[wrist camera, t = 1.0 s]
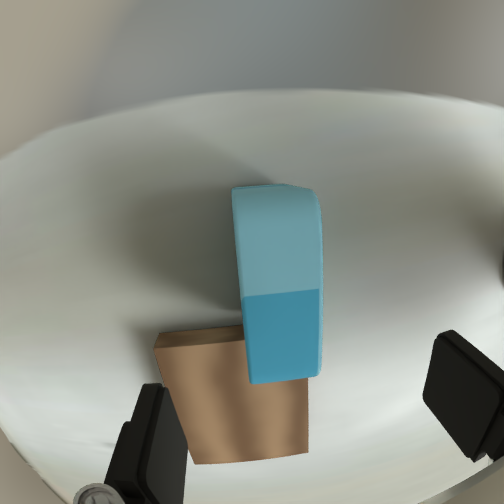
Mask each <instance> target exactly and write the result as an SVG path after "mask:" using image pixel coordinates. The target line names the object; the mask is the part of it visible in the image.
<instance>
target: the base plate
mask: <svg viewBox="0 0 504 504" xmlns="http://www.w3.org/2000/svg"><path fill="white" fill-rule="evenodd" d="M153 349H154V353H155V356H156V359H157V363H158V366H159V369H160V372H161V375H162V378H163V382H164V385H165V387H167V388H168V390H169V392H170V395H171V398H172V401H173V404H174V407H175V410H176V412H177V415H178V418H179V421H180V423H181V426H182V429H183V431H184V434H185V436H186V439H187V443H188V449H189V452H190V454H191V457H192V459H193V461H194V464H220V463H234V462H245V461H255V460H263V459H271V458H278V457H285V456H291V455H297V454H302V453H308V378H302V379H295V380H287V381H280V382H271V383H263V384H251V383H250V382H249V375H248V366H247V356H246V347H245V337H244V327H243V325H237V326H228V327H219V328H210V329H200V330H190V331H179V332H167V333H159V335H158V338H157V340H156V343H155V345H154V348H153Z"/></svg>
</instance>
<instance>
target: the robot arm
mask: <svg viewBox="0 0 504 504" xmlns="http://www.w3.org/2000/svg"><path fill="white" fill-rule="evenodd" d="M423 400H424V402H425V404H426V405H427V406H428V407H429V409H430V410H431V411H432V413H433V414H434V415H435V417H436V418H437V419H438V420H439V422H440V423H441V424H442V426H443V427H444V428H445V430H446V431H447V432H448V433H449V435H450V436H451V437H452V439H453V440H454V441H455V443H456V444H457V445H458V447H459V448H460V449H461V451H462V452H463V453H464V455H465V456H466V457H468V458H471V460H472V461H473V462H474V463H475V462H476V461H478V460H480V459H481V458H483V457H484V456H485V455H486V453H487V455H488V456H489V460H488V467H486V468H484V469H483V470H481V471H479V472H478V473H476V474H475V475H473V476H471V477H469V478H468V479H466V480H464V481H462V482H461V483H459V484H457V485H455V486H453V487H451V488H449V489H447V490H445V491H443V492H441V493H439V494H437V495H435V496H433V497H431V498H429V499H427V500H425V501H422V502H420V503H418V504H504V371H503V370H502V369H501V368H500V367H499V366H497V365H496V364H495V363H494V362H493V361H491V360H490V359H489V358H488V357H487V356H485V355H484V354H483V353H482V352H481V351H479V350H478V349H477V348H476V347H474V346H473V345H472V344H471V343H469V342H468V341H467V340H466V339H464V338H463V337H462V336H461V335H459V334H458V333H457V332H456V331H454V330H448V331H445V332H442V333H440V334H438V336H437V338H436V339H435V340H434V344H433V350H432V355H431V360H430V364H429V369H428V373H427V378H426V382H425V386H424V390H423ZM187 453H188V443H187V439H186V436H185V434H184V431H183V429H182V426H181V423H180V421H179V418H178V415H177V412H176V410H175V407H174V404H173V401H172V398H171V395H170V392H169V390H168V388H167V387H163V386H162V384H161V383H152V384H143V386H142V389H141V391H140V394H139V397H138V400H137V403H136V406H135V409H134V412H133V415H132V418H131V421H126V422H125V423H124V424H123V426H122V429H121V432H120V434H119V437H118V440H117V443H116V446H115V449H114V452H113V455H112V459H111V462H110V465H109V468H108V471H107V474H106V478H105V481H104V484H102V483H93V484H89V485H86V486H84V487H83V488H81V489H80V490H79V491H78V492H77V493H76V495H75V497H74V499H73V504H183V497H184V486H185V474H186V464H187Z"/></svg>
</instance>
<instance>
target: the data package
mask: <svg viewBox="0 0 504 504" xmlns="http://www.w3.org/2000/svg"><path fill="white" fill-rule="evenodd" d="M231 195H232V210H233V222H234V233H235V244H236V255H237V266H238V276H239V287H240V297H241V307H242V317H243V327H244V337H245V347H246V356H247V366H248V375H249V382H250V383H251V384H263V383H271V382H280V381H287V380H295V379H302V378H308V377H315V376H317V375H318V374H319V373H320V370H321V362H322V331H323V245H322V217H321V210H320V205H319V201H318V198H317V196H316V194H315V193H314V192H313V191H312V190H311V189H306V188H302V187H297V186H292V185H287V184H272V185H258V186H246V187H234V188H232V190H231Z"/></svg>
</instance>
